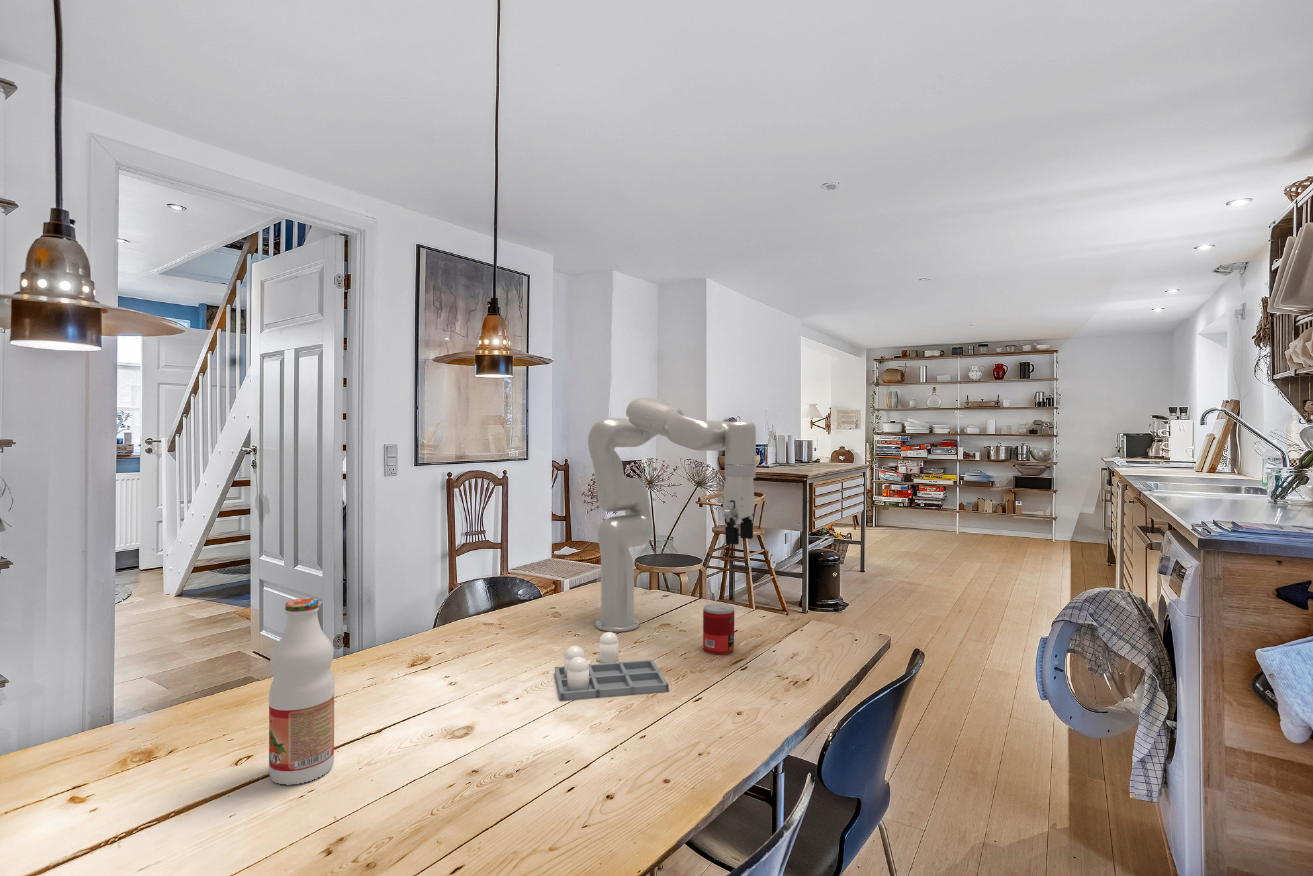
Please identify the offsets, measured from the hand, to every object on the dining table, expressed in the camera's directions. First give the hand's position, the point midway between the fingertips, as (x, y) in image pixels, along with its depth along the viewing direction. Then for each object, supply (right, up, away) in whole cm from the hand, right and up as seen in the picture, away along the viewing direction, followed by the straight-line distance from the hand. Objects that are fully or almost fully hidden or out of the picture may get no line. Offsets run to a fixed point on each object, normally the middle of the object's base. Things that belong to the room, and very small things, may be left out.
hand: (739, 541), depth 161 cm
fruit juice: (-79, -30, -54) cm, 100 cm away
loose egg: (-32, -29, -2) cm, 43 cm away
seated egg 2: (-37, -29, -22) cm, 52 cm away
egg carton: (-31, -29, -16) cm, 46 cm away
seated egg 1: (-39, -29, -14) cm, 50 cm away
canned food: (-4, -29, +7) cm, 31 cm away
